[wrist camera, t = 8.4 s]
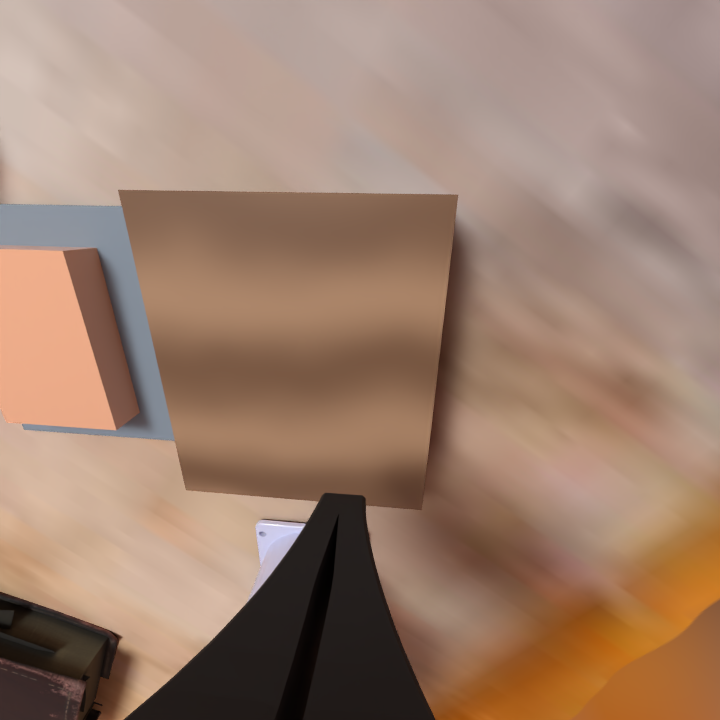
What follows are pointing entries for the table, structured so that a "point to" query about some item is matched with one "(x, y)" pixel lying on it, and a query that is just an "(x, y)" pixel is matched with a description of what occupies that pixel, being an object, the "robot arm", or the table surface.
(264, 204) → the board
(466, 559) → the table surface
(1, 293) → the block
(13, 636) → the diary
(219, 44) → the table surface
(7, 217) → the mat
